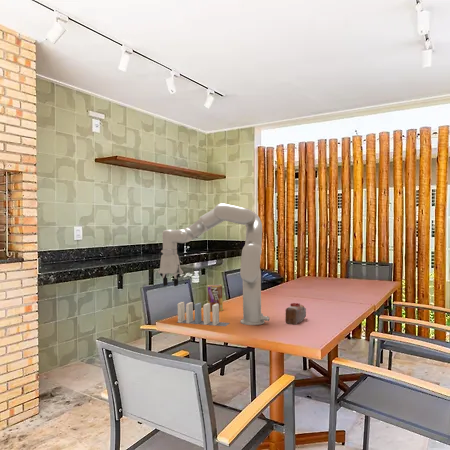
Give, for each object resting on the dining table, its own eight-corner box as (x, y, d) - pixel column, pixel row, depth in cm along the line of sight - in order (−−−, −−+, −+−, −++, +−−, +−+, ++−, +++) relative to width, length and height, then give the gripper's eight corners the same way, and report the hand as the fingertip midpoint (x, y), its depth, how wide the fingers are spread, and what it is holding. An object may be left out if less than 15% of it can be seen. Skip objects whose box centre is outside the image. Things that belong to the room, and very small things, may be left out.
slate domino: (201, 321, 208) (201, 302, 208) (197, 323, 204) (197, 304, 204) (198, 321, 209) (198, 302, 209) (194, 323, 204) (194, 304, 204)
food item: (292, 318, 214) (292, 300, 214) (307, 319, 210) (306, 301, 210) (284, 323, 202) (283, 304, 202) (299, 325, 198) (298, 306, 198)
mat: (230, 323, 204) (230, 322, 204) (225, 327, 197) (225, 326, 197) (182, 320, 214) (182, 319, 214) (176, 323, 207) (176, 322, 207)
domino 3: (210, 322, 206) (209, 303, 206) (206, 324, 202) (206, 305, 202) (207, 322, 207) (207, 303, 207) (203, 324, 202) (203, 305, 202)
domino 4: (219, 322, 205) (218, 303, 205) (215, 325, 200) (215, 305, 200) (216, 322, 205) (215, 303, 205) (212, 325, 201) (212, 305, 200)
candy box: (222, 309, 239) (221, 284, 239) (223, 310, 234) (222, 285, 234) (207, 310, 238) (207, 285, 238) (208, 311, 234) (207, 286, 234)
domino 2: (193, 320, 210) (192, 302, 210) (189, 323, 205) (188, 304, 205) (190, 320, 211) (190, 302, 210) (186, 323, 206) (185, 304, 206)
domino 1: (184, 320, 212) (184, 301, 212) (180, 322, 207) (180, 303, 207) (182, 320, 212) (181, 301, 212) (177, 322, 208) (177, 303, 208)
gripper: (152, 252, 211) (153, 286, 211) (180, 252, 205) (181, 287, 205) (159, 251, 218) (160, 284, 218) (187, 251, 212) (188, 285, 212)
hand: (170, 285), depth 212 cm, fingers open, 5 cm apart
